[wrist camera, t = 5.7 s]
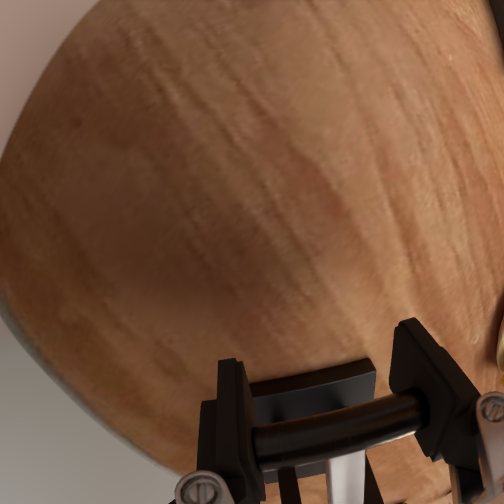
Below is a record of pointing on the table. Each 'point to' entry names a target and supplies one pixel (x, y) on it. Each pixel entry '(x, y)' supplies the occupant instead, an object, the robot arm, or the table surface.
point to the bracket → (312, 403)
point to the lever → (341, 440)
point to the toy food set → (501, 350)
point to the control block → (499, 16)
